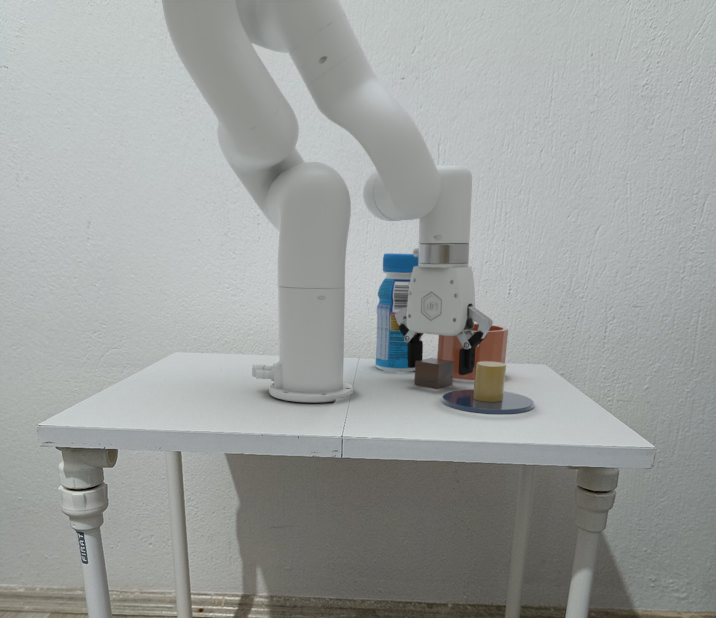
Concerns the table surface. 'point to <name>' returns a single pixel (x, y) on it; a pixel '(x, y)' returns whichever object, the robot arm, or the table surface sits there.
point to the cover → (488, 393)
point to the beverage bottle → (393, 312)
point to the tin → (486, 351)
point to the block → (434, 373)
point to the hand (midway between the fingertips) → (439, 370)
